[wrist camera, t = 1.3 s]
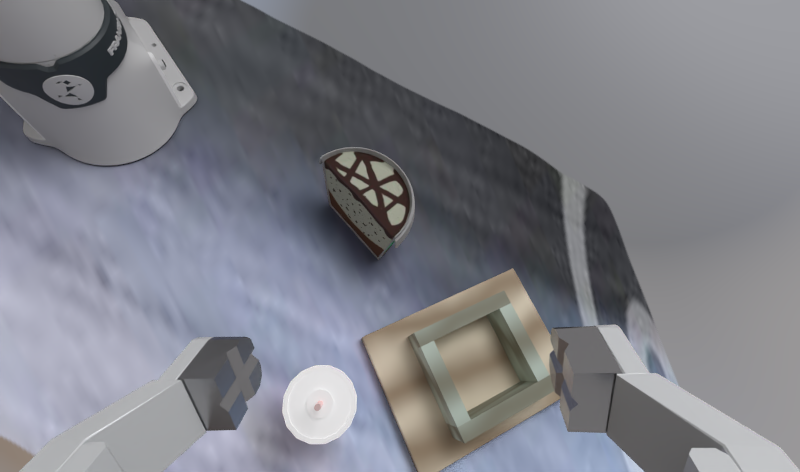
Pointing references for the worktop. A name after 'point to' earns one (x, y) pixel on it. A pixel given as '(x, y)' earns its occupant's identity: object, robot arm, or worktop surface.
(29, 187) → the worktop surface
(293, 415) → the beverage cup
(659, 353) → the worktop surface
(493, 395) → the collar stand
